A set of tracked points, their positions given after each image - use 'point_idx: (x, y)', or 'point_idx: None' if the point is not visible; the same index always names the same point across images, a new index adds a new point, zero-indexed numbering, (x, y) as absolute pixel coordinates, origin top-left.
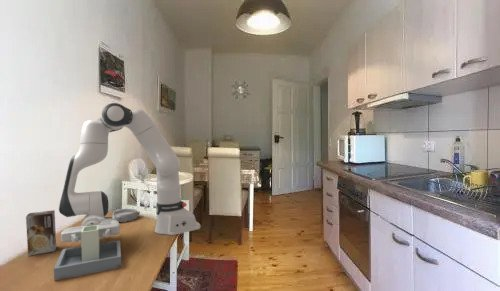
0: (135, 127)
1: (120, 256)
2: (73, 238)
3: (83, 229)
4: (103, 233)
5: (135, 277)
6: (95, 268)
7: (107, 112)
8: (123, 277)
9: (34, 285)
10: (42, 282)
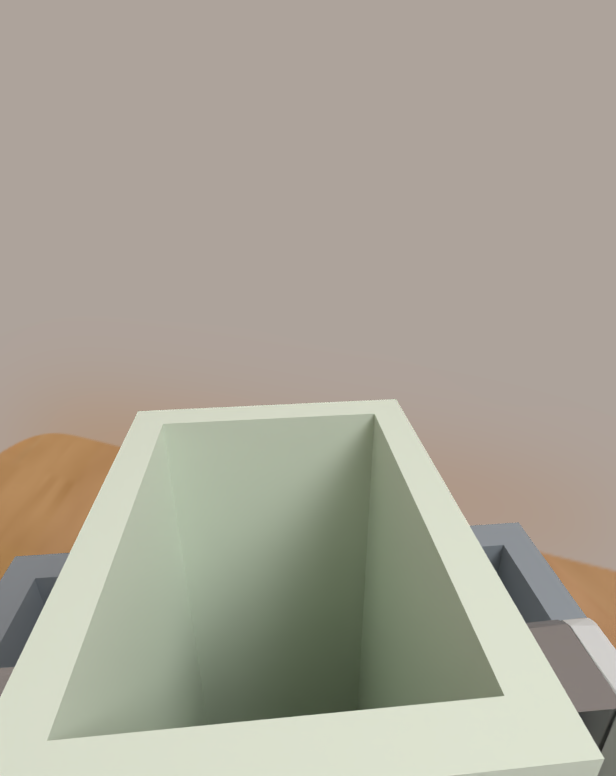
0: None
1: (19, 556)
2: (583, 619)
3: (417, 495)
4: (11, 667)
5: (39, 489)
6: None
7: None
8: (91, 505)
9: (605, 576)
10: (580, 598)
